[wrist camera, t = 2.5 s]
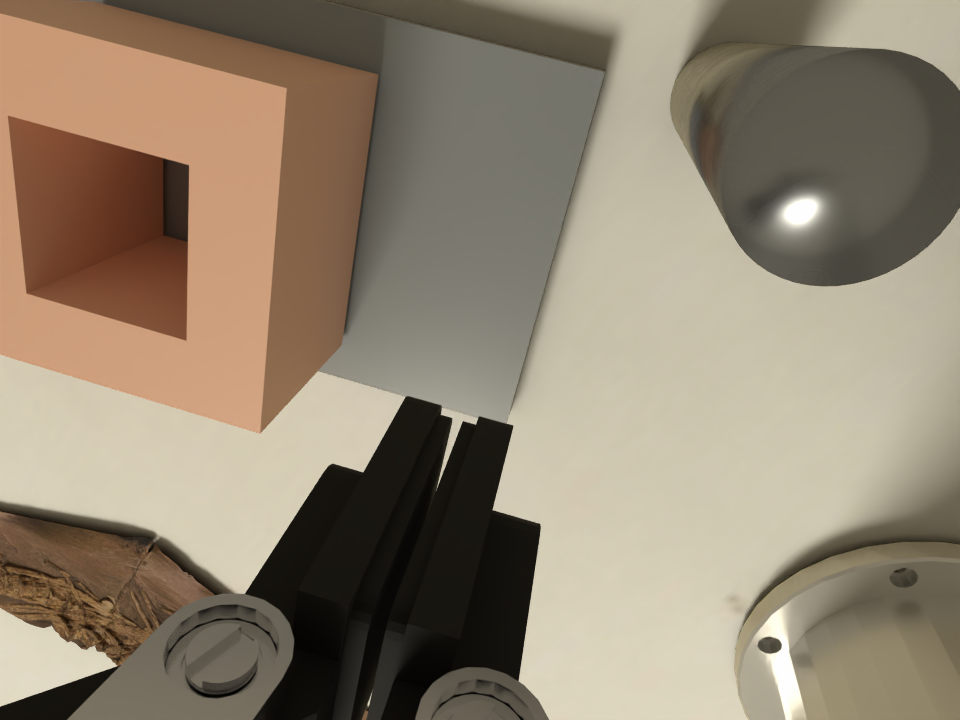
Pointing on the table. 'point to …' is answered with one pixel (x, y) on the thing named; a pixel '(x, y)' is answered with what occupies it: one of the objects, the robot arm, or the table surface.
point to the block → (139, 206)
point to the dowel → (823, 154)
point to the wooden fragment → (90, 584)
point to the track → (431, 191)
